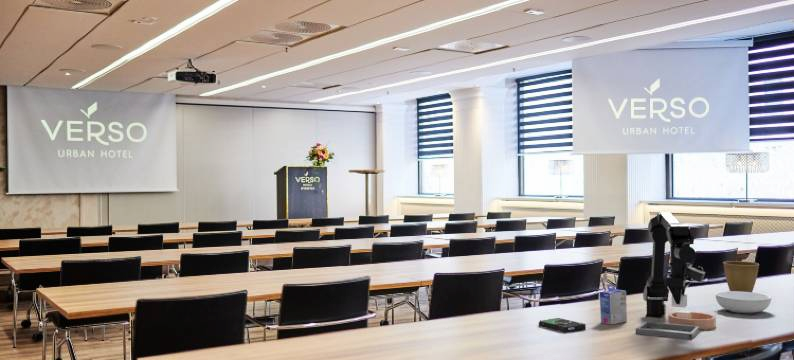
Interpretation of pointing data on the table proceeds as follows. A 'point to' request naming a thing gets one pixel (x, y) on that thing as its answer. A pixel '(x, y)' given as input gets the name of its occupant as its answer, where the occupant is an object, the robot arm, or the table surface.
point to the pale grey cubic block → (682, 302)
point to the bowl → (694, 320)
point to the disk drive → (562, 325)
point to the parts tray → (691, 335)
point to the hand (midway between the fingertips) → (679, 303)
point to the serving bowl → (743, 301)
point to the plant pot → (741, 275)
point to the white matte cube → (684, 314)
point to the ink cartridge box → (613, 306)
